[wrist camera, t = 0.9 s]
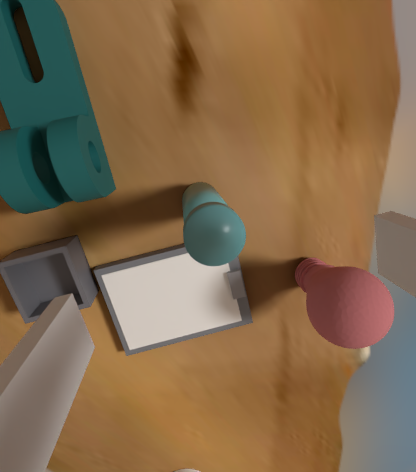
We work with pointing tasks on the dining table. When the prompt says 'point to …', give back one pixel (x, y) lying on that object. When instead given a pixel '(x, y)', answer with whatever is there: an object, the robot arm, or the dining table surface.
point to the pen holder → (48, 276)
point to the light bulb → (345, 303)
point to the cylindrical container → (187, 470)
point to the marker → (210, 226)
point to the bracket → (47, 116)
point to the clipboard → (171, 298)
